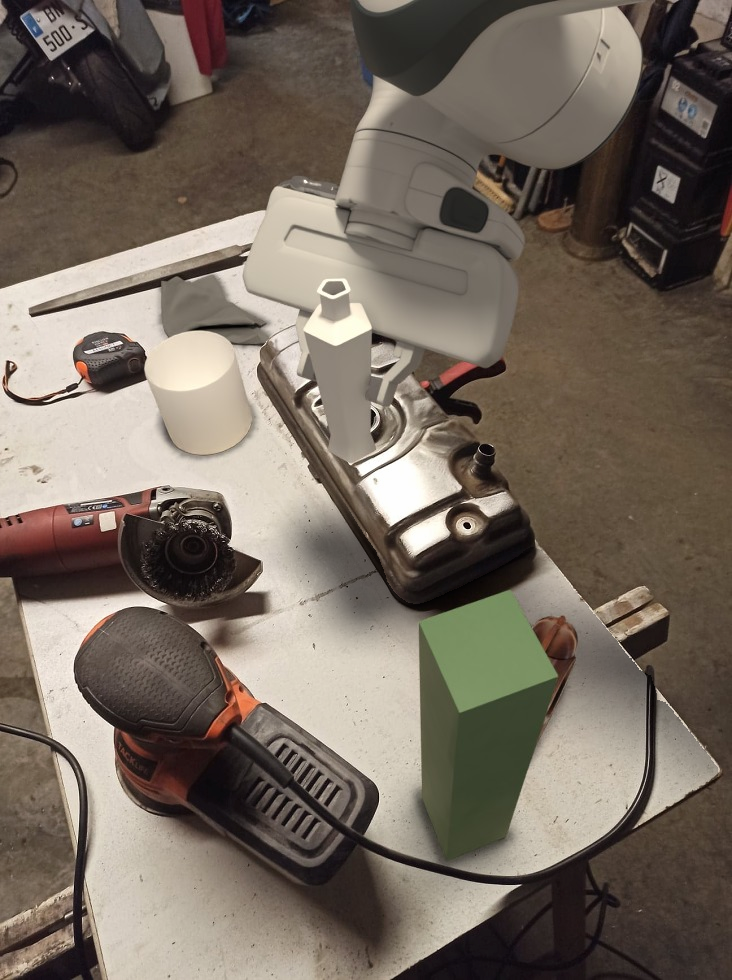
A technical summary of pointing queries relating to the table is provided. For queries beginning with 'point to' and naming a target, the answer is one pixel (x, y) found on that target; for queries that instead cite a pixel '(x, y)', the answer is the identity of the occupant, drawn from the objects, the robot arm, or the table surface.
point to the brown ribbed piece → (557, 653)
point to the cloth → (206, 311)
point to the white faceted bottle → (342, 368)
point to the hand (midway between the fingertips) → (342, 391)
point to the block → (479, 717)
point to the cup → (199, 391)
